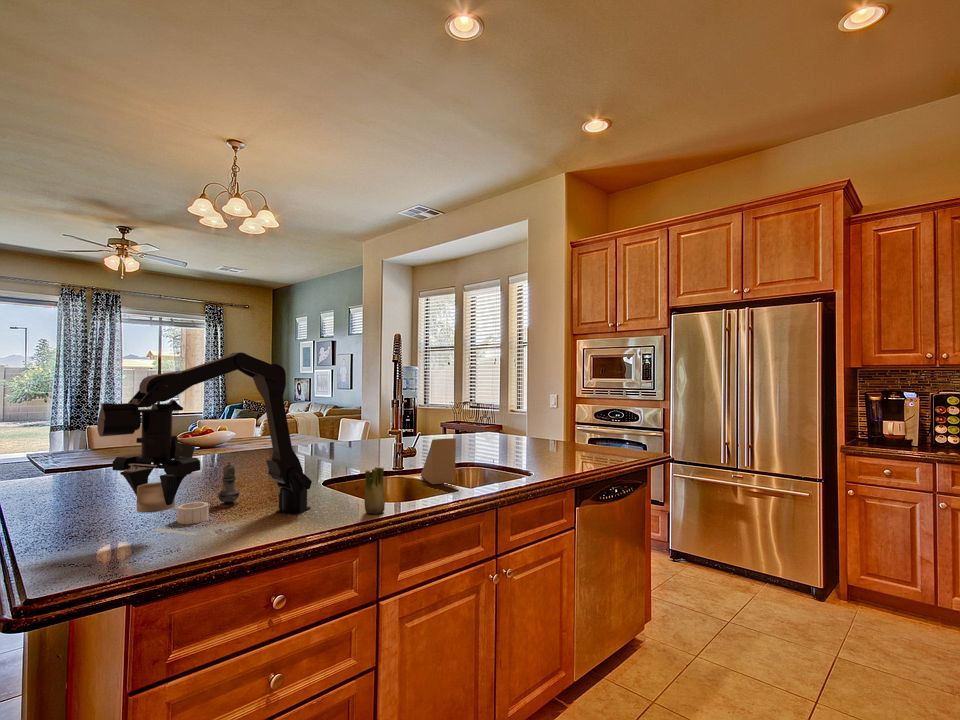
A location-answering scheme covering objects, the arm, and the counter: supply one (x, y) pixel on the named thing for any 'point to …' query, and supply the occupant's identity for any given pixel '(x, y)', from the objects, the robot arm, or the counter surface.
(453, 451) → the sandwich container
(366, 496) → the fennel bulb
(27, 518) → the counter surface
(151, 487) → the beige rounded cylinder
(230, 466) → the salt shaker
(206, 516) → the bowl
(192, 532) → the mat
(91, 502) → the counter surface
